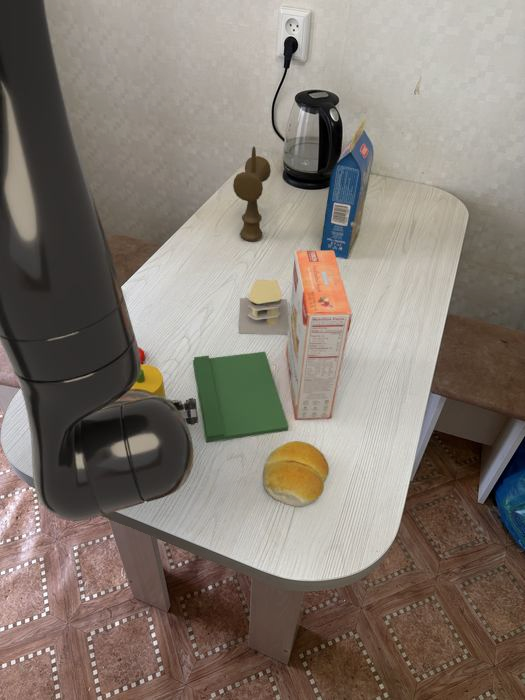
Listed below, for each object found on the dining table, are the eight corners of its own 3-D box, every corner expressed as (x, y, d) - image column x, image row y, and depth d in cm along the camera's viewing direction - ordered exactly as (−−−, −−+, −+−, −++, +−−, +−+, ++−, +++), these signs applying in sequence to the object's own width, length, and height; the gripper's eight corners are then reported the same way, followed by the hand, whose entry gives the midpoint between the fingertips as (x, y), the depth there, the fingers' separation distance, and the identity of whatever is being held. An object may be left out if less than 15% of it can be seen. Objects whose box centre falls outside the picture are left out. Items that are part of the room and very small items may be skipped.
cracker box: (283, 355, 85) (293, 248, 70) (318, 354, 85) (336, 248, 71) (291, 421, 75) (305, 312, 60) (331, 420, 75) (355, 311, 61)
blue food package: (359, 232, 115) (382, 118, 98) (347, 259, 107) (370, 140, 89) (332, 226, 116) (350, 113, 99) (319, 252, 108) (335, 134, 91)
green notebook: (206, 442, 71) (205, 436, 70) (193, 363, 83) (192, 357, 82) (288, 430, 73) (288, 424, 73) (264, 354, 85) (265, 348, 84)
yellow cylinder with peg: (126, 436, 72) (115, 391, 65) (126, 404, 76) (115, 358, 69) (169, 430, 73) (163, 385, 66) (166, 399, 77) (160, 353, 70)
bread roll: (332, 459, 70) (336, 442, 67) (315, 515, 64) (319, 499, 61) (275, 442, 72) (277, 424, 69) (254, 494, 66) (255, 478, 63)
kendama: (232, 246, 108) (232, 154, 95) (243, 224, 115) (245, 135, 101) (259, 250, 108) (263, 158, 94) (269, 228, 115) (274, 139, 101)
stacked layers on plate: (239, 298, 95) (240, 274, 92) (287, 299, 96) (289, 275, 92) (238, 333, 88) (238, 308, 84) (289, 334, 89) (292, 310, 85)
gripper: (198, 381, 52) (191, 377, 68) (53, 400, 50) (81, 392, 66) (207, 453, 52) (198, 432, 68) (63, 476, 50) (88, 449, 66)
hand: (141, 412), depth 67 cm, fingers open, 8 cm apart
